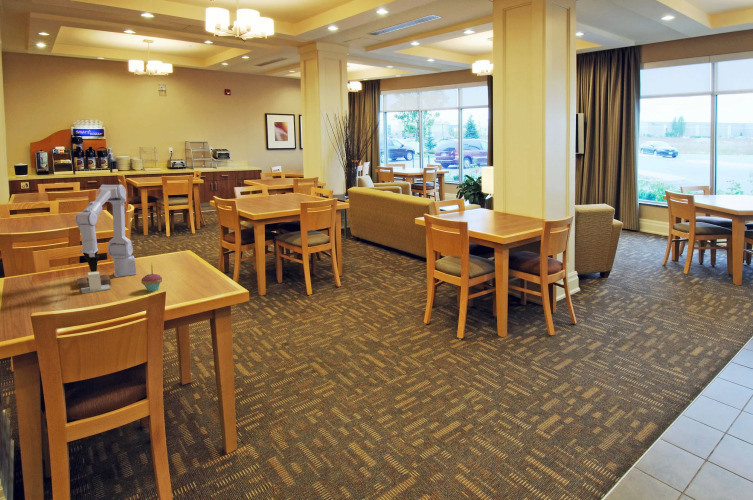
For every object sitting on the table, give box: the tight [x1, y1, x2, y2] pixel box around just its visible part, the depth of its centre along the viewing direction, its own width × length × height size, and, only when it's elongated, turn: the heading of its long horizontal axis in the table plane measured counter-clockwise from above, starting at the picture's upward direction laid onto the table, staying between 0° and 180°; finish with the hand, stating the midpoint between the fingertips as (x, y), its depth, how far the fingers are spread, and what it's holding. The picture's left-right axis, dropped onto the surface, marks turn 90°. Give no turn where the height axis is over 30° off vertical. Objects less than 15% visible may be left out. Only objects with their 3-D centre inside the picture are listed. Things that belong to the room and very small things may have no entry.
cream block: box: [87, 270, 102, 290], centre depth 227 cm, size 4×4×7 cm
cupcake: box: [141, 263, 163, 292], centre depth 226 cm, size 9×8×12 cm
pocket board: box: [76, 274, 112, 290], centre depth 236 cm, size 13×9×2 cm
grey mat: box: [80, 284, 111, 294], centre depth 228 cm, size 11×7×1 cm, turn 122°
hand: (93, 269), depth 226 cm, fingers open, 7 cm apart
